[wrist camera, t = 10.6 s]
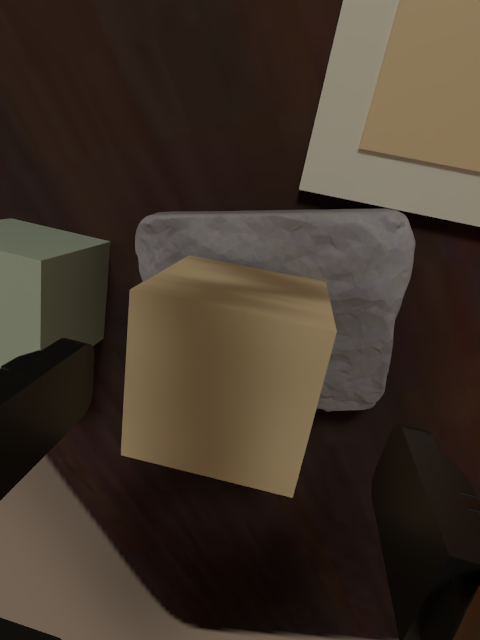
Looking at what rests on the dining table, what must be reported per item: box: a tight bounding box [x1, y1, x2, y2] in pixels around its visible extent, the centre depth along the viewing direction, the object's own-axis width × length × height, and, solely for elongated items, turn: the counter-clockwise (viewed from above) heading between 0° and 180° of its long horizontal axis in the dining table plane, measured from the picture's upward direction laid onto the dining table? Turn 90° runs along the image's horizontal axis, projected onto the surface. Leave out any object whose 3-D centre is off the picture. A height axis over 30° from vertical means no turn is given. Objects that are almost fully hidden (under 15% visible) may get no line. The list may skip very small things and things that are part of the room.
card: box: [299, 0, 480, 227], centre depth 14 cm, size 10×10×1 cm
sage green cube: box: [0, 219, 110, 368], centre depth 18 cm, size 6×6×6 cm
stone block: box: [135, 208, 415, 412], centre depth 18 cm, size 12×5×10 cm
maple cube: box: [121, 255, 337, 498], centre depth 13 cm, size 6×6×6 cm
